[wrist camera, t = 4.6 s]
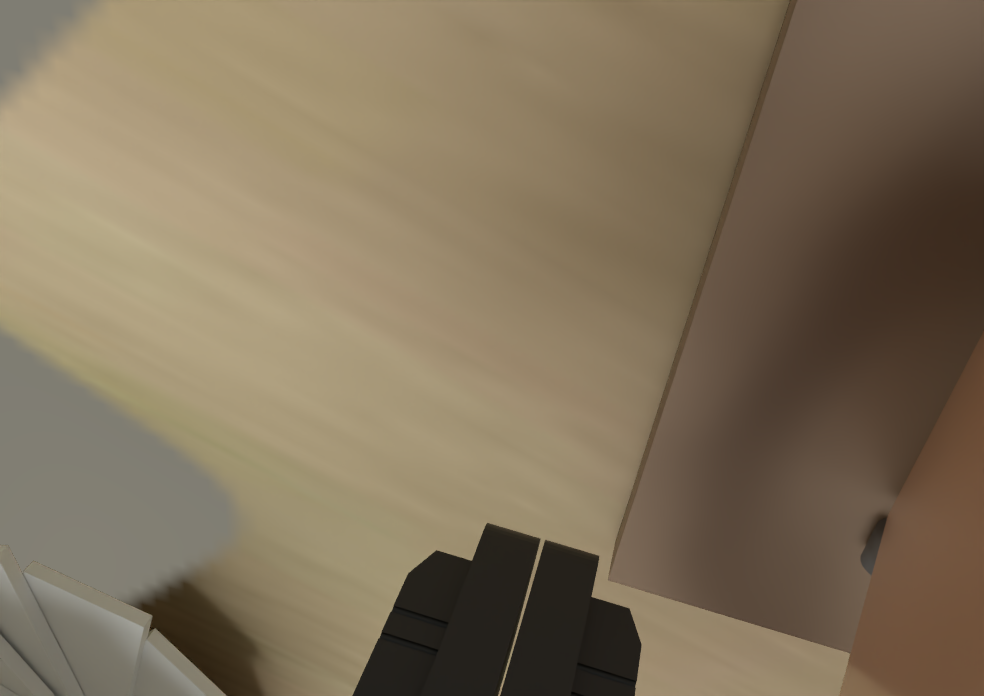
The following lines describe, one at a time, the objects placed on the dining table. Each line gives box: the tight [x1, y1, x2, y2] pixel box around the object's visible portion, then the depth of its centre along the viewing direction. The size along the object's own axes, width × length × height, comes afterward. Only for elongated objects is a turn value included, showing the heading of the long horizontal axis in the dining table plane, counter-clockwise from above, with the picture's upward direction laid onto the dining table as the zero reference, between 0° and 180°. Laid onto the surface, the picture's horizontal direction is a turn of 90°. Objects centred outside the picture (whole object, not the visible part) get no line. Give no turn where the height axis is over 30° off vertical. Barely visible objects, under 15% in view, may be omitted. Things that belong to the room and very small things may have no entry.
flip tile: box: [839, 331, 984, 696], centre depth 14 cm, size 13×8×1 cm
